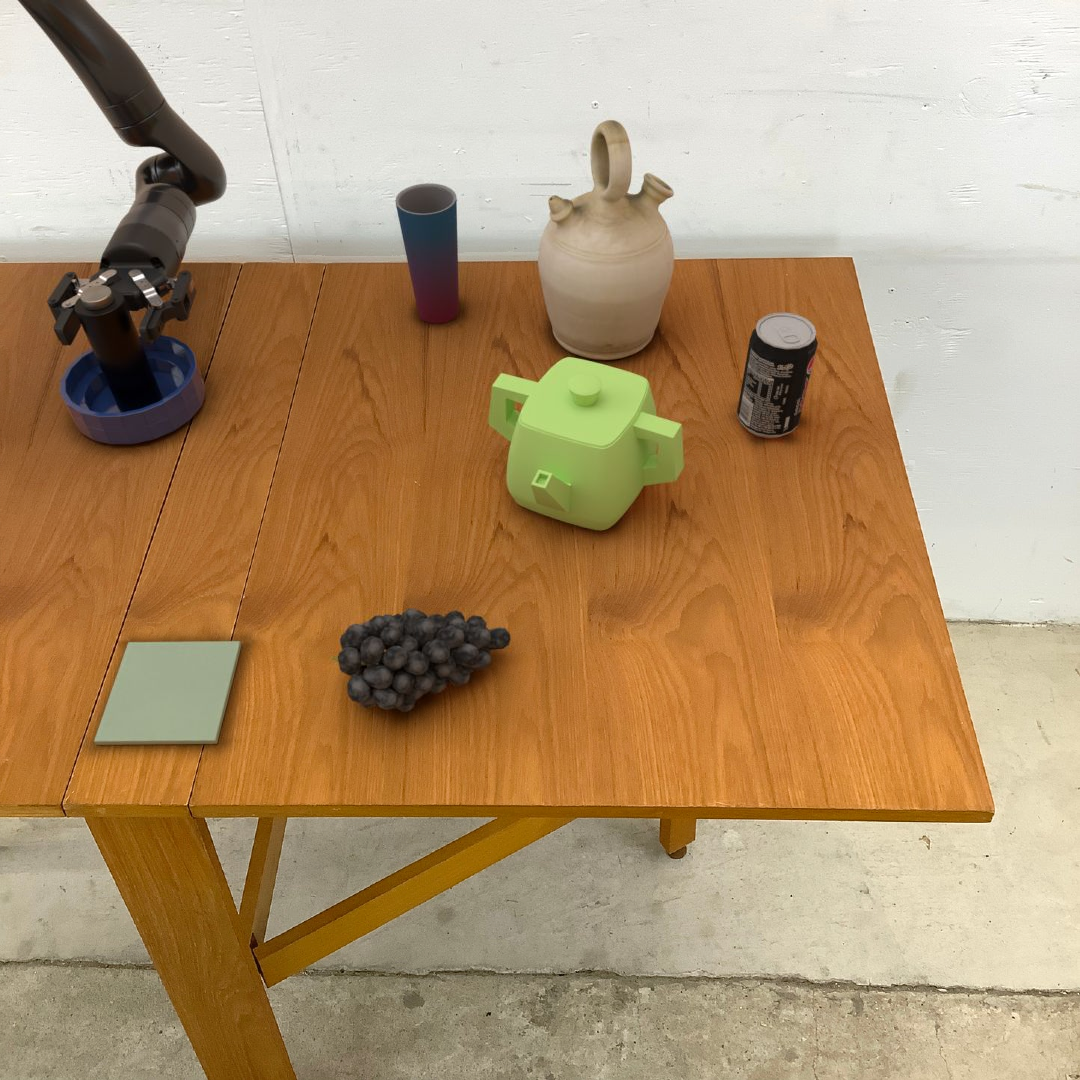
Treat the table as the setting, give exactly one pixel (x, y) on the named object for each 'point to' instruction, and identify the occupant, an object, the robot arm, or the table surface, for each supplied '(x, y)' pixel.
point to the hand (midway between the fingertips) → (104, 338)
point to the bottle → (117, 347)
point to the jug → (607, 256)
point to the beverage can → (776, 374)
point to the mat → (170, 693)
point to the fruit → (414, 655)
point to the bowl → (110, 425)
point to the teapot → (583, 441)
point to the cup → (431, 248)
